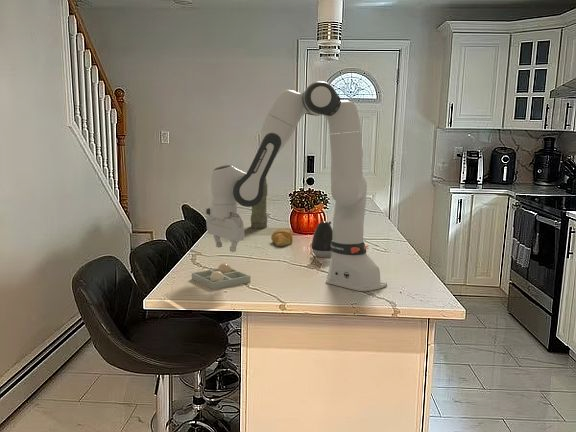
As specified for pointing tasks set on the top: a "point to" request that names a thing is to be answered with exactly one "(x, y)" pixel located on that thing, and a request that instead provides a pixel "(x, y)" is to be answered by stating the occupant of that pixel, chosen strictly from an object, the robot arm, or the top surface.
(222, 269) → the brown egg
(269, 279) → the top surface
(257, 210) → the thermos
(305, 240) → the top surface
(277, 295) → the top surface
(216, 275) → the pale egg
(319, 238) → the pump dispenser
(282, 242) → the croissant
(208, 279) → the carton
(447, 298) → the top surface
